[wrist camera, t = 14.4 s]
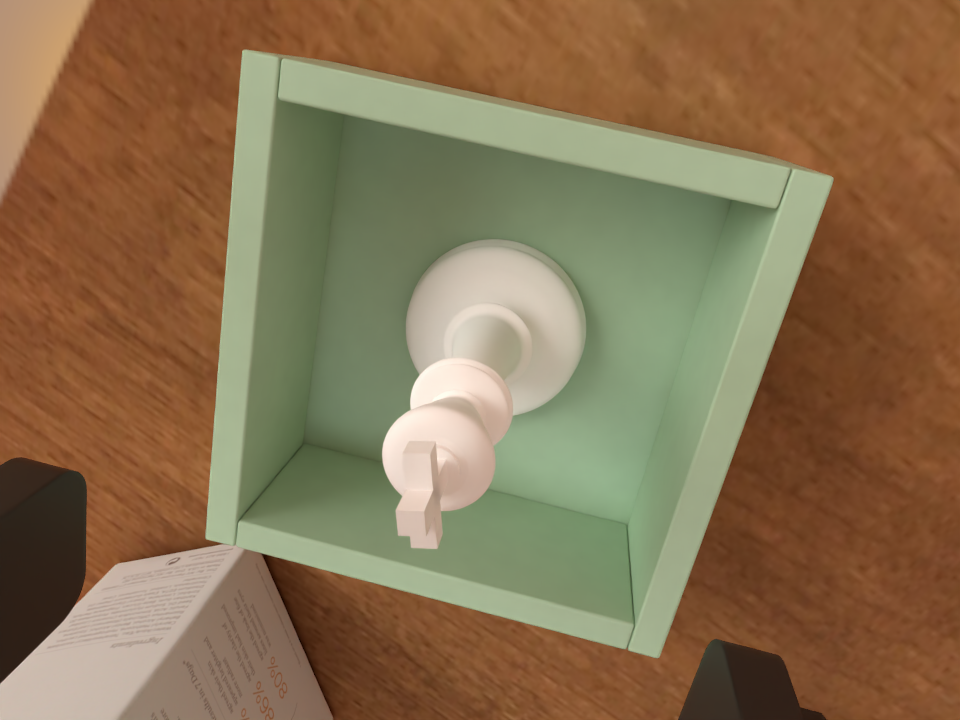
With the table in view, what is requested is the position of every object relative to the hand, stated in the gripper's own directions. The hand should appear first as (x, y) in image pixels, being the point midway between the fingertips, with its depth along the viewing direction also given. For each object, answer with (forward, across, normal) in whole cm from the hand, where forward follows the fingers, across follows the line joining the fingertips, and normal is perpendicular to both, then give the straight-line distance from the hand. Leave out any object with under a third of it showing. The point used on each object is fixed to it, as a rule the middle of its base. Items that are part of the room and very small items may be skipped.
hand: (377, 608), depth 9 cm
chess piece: (+12, 0, 0) cm, 12 cm away
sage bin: (+12, 0, 0) cm, 12 cm away
